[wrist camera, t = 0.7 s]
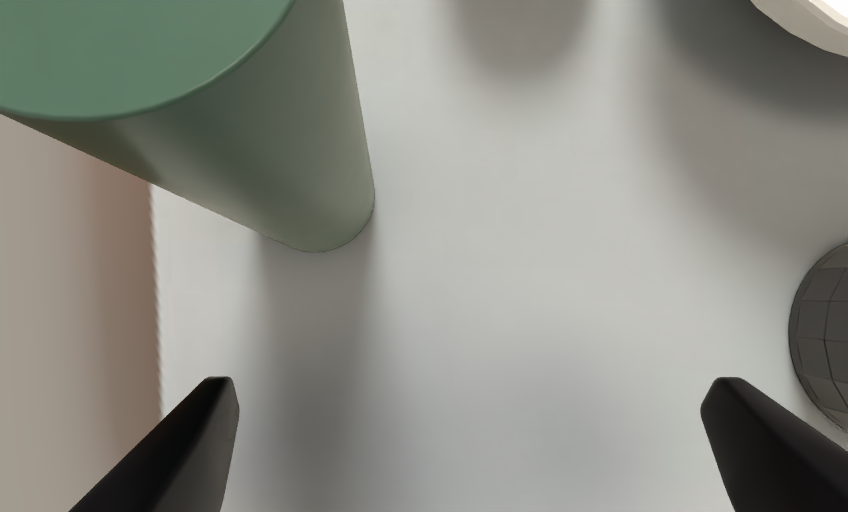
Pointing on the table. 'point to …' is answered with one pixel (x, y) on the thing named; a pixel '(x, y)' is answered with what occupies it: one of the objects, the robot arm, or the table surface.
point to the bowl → (812, 21)
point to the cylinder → (203, 103)
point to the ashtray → (823, 334)
